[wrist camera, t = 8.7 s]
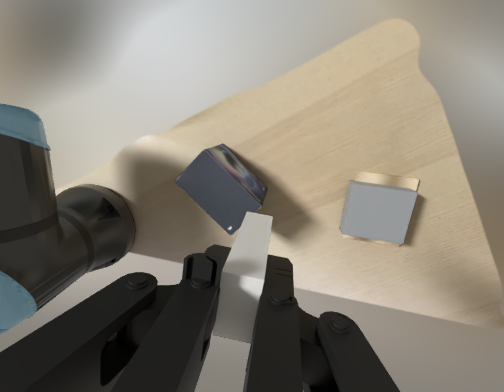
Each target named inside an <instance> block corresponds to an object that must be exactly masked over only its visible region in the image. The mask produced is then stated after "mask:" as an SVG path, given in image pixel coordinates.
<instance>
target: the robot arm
mask: <svg viewBox="0 0 504 392" xmlns="http://www.w3.org/2000/svg"><path fill="white" fill-rule="evenodd" d="M49 151H50V147H49V145H48V144H47V140H46V135H45V130H44V126H43V122H42V120H41V118H40V117H39V116H38V115H37V114H36V113H34V112H32V111H31V110H29V109H25V108H21V107H16V106H12V105H6V104H0V334H2V333H4V332H6V331H8V330H10V329H11V328H13V327H14V326H16V325H17V324H19V323H20V322H22V321H23V320H25V319H27V318H29V317H31V316H33V315H34V314H35V312H37V311H38V310H39V309H40V308H42V307H43V306H44V305H45V304H47V303H48V302H49V301H50V300H52V299H53V298H54V297H56V296H57V295H58V294H60V293H61V292H62V291H63V290H65V289H66V288H67V287H69V286H70V285H71V284H72V283H73V282H75V281H76V280H77V279H79V278H80V277H81V276H83V275H84V274H85V273H88V272H92V271H95V270H98V269H102V268H105V267H108V266H111V265H113V264H114V263H116V262H118V261H119V260H120V259H121V258H122V257H124V256H125V255H126V254H127V253H128V252H129V250H130V249H131V247H132V245H133V242H134V238H135V225H134V220H133V217H132V215H131V212H130V211H129V209H128V207H127V206H126V204H125V203H124V202H123V201H122V200H121V199H120V198H119V197H118V196H117V195H116V194H115V193H113V192H112V191H110V190H108V189H106V188H104V187H101V186H98V185H93V184H83V185H78V186H75V187H72V188H69V189H66V190H64V191H63V192H61V193H60V194H58V195H57V196H56V195H55V188H54V181H53V174H52V167H51V161H50V153H49ZM272 220H273V216H268V215H263V214H258V213H252V212H247V213H246V215H245V217H244V220H243V222H242V225H241V227H240V229H239V232H238V234H237V236H236V239H235V241H234V244H233V246H232V248H229V247H224V246H219V245H215V244H214V245H213V246H211V247H209V248H207V250H206V252H205V253H196V254H191V255H188V256H187V257H186V258H184V266H183V276H182V280H181V282H180V283H179V284H176V285H157V282H158V281H157V279H156V277H154V276H153V275H151V274H148V273H143V272H135V273H131V274H127V275H125V276H122V277H121V278H119V279H117V280H116V281H114V282H113V283H111V284H110V285H108V286H106V287H105V288H103V289H101V290H100V291H98V292H96V293H95V294H93V295H92V296H90V297H89V298H87V299H85V300H84V301H82V302H80V303H79V304H77V305H76V306H74V307H73V308H71V309H69V310H68V311H66V312H64V313H63V314H62V315H59V316H58V317H56V318H55V319H53V320H52V321H50V322H48V323H47V324H45V325H43V326H42V327H40V328H39V329H37V330H35V331H34V332H32V333H31V334H29V335H27V336H26V337H24V338H23V339H21V340H19V341H18V342H16V343H15V344H13V345H11V346H10V347H8V348H6V349H5V350H3V351H2V352H0V392H194V390H195V388H196V385H197V382H198V378H199V376H200V372H201V370H202V366H203V364H204V361H205V358H206V355H207V351H208V349H209V345H210V338H211V333H212V330H213V335H215V336H220V337H224V338H229V339H233V340H238V341H242V342H246V343H251V347H250V352H249V357H248V362H247V368H246V376H245V382H244V388H243V392H303V391H304V392H400V391H399V389H398V387H397V386H396V384H395V383H394V381H393V380H392V378H391V377H390V375H389V373H388V372H387V371H386V369H385V367H384V366H383V364H382V363H381V361H380V359H379V358H378V356H377V355H376V353H375V352H374V350H373V349H372V347H371V345H370V344H369V342H368V341H367V339H366V338H365V336H364V335H363V333H362V331H361V330H360V328H359V327H358V325H357V324H356V323H355V322H354V321H353V320H351V319H350V318H349V317H347V316H345V315H343V314H341V313H338V312H332V311H331V312H324V313H322V314H321V315H320V317H319V318H317V317H314V316H312V315H310V314H308V313H306V312H305V311H303V310H302V309H301V308H300V307H299V306H298V303H297V300H296V298H295V297H294V286H293V265H292V263H291V262H290V261H289V259H288V258H283V257H278V256H273V255H268V249H269V242H270V234H271V227H272ZM213 327H214V328H213Z"/></svg>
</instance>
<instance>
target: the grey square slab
mask: <svg viewBox="0 0 504 392" xmlns="http://www.w3.org/2000/svg"><path fill="white" fill-rule="evenodd" d="M417 194H418V193H417V192H415V191H414V190H412V189H409V188H402V187H395V186H388V185H381V184H374V183H367V182H359V181H352V180H350V182H349V186H348V191H347V196H346V200H345V205H344V209H343V214H342V218H341V223H340V227H339V229H340V231H341V233H342V234H343V235H350V236H356V237H362V238H369V239H375V240H381V241H388V242H394V243H400V244H403V242H404V238H405V235H406V232H407V228H408V225H409V221H410V218H411V214H412V211H413V208H414V204H415V201H416V197H417Z"/></svg>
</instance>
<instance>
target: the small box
mask: <svg viewBox="0 0 504 392" xmlns="http://www.w3.org/2000/svg"><path fill="white" fill-rule="evenodd" d="M175 182H176V183H177V184H178V185H179V186H180V187H181V188H182V189H183V190H184V191H185V192H186V193H187V194H188V195H189V196H190V197H191V198H192V199H193V200H194V201H195V202H196V203H197V204H198V205H199V206H200V207H201V208H202V209H203V210H204V211H205V212H207V213H208V214H209V215H210V216H211V217H212V218H213V219H214V220H215V221H216V222H217V223H218V224H219V225H220V226H221V227H222V228H223V229H224V230H225V231H226V232H227V233H228V234H229V235H233V234H234V233H235V232H236V231H237V230H238V229H239V228H240V227H241V225H242V222H243V220H244V217H245V215H246V213H247V212H252V213H256V212H257V211H258V210H259V209H260V208H261V207H262V204H263V201H264V198H265V195H266V192H267V187H266V186H265V185H264V184H263V183H262V182H261V181H260V180H259V179H258V178H257V177H256V176H255V175H254V174H253V173H252V172H251V171H250V170H249V169H248V168H247V167H246V166H245V165H244V164H243V163H242V162H241V161H240V160H239V159H238V158H237V157H236V156H235V155H234V154H233V153H232V152H231V151H230V150H229V149H228V148H227V147H226V146H225V145H224V144H221V145H217V146H215V147H212V148H208V149H205V150H203V151H202V152H201V153H200V154H199V155H198V156H197V157H196V158H195V159H194V160H193V162H192V163H191V164H190V165H189V166H188V167H187V168H186V169H185V170H184V172H183V173H182V174H181V175H180V176H179V177H178V178H177V179H176V181H175Z"/></svg>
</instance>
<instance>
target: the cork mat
mask: <svg viewBox="0 0 504 392" xmlns="http://www.w3.org/2000/svg"><path fill="white" fill-rule="evenodd" d="M355 181H359V182H367V183H374V184H381V185H388V186H395V187H402V188H409V189H412V190H414V191H415V192H416V189H417V186H418V182H419V179H413V178H406V177H398V176H391V175H384V174H377V173H369V172H362V171H357V174H356V178H355ZM342 237H344V238H350V239H357V240H363V241H369V242H375V243H382V244H388V245H394V246H400V243H394V242H388V241H381V240H375V239H369V238H362V237H356V236H350V235H343V236H342Z"/></svg>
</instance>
